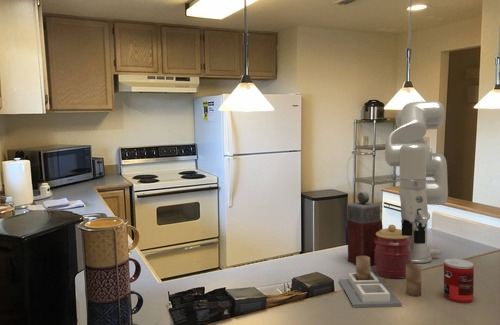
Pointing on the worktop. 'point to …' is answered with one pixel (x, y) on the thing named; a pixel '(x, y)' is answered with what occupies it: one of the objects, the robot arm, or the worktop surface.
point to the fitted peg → (362, 268)
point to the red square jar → (362, 228)
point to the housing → (368, 292)
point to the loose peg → (413, 279)
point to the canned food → (458, 280)
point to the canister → (391, 253)
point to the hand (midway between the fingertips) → (413, 239)
